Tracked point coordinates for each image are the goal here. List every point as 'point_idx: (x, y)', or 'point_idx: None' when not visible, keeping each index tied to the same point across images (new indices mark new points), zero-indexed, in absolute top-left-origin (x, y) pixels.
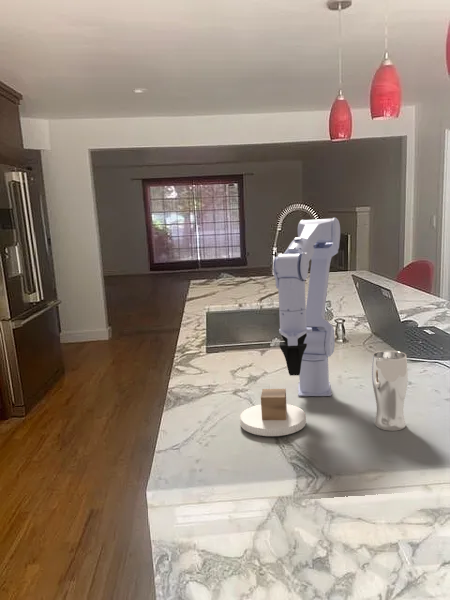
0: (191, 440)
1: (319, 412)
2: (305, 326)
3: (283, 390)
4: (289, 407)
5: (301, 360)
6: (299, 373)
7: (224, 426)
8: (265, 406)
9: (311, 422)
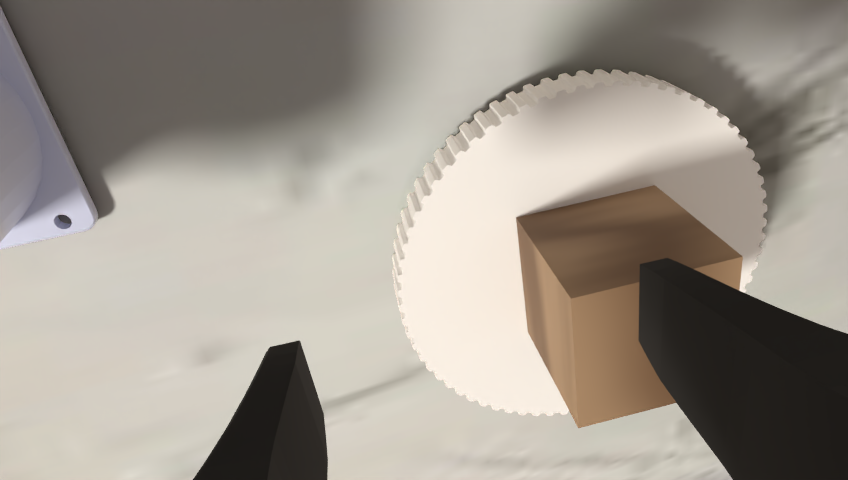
0: (722, 470)
1: (348, 17)
2: None
3: (609, 302)
4: (462, 215)
5: (818, 326)
6: (681, 264)
7: (597, 424)
8: None
9: (521, 42)
